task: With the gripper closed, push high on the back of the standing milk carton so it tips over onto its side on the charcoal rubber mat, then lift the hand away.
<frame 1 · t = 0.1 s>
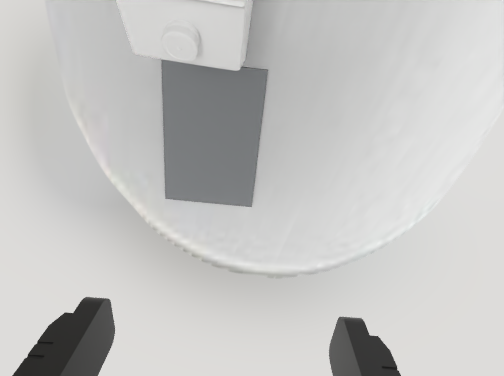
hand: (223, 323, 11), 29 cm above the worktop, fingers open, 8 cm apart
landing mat: (211, 140, 38), on the worktop
milk carton: (217, 19, 32), on the worktop
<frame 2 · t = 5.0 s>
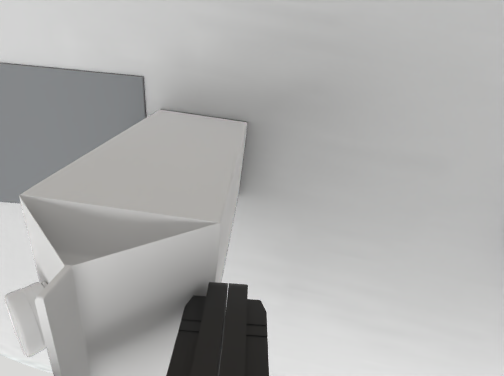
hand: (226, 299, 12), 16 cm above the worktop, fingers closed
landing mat: (40, 142, 25), on the worktop
milk carton: (201, 155, 25), on the worktop, touching gripper
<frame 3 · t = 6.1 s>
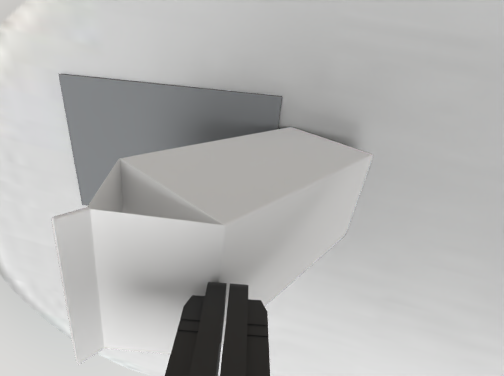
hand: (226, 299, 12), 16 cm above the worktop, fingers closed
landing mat: (172, 155, 27), on the worktop
milk carton: (320, 179, 25), point 2 cm above the worktop, touching gripper
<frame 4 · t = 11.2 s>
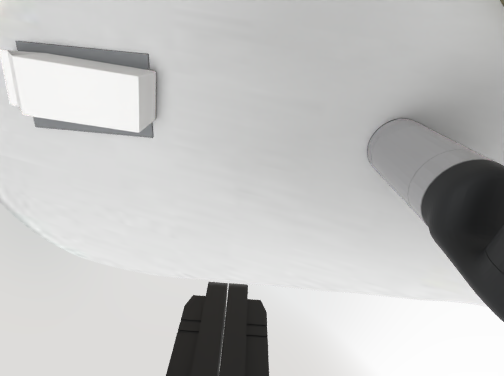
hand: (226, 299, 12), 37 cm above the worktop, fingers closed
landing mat: (89, 92, 44), on the worktop
milk carton: (150, 101, 41), point 4 cm above the worktop, touching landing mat
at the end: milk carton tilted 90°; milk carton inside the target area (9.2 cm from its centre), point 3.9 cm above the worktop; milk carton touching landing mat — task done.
